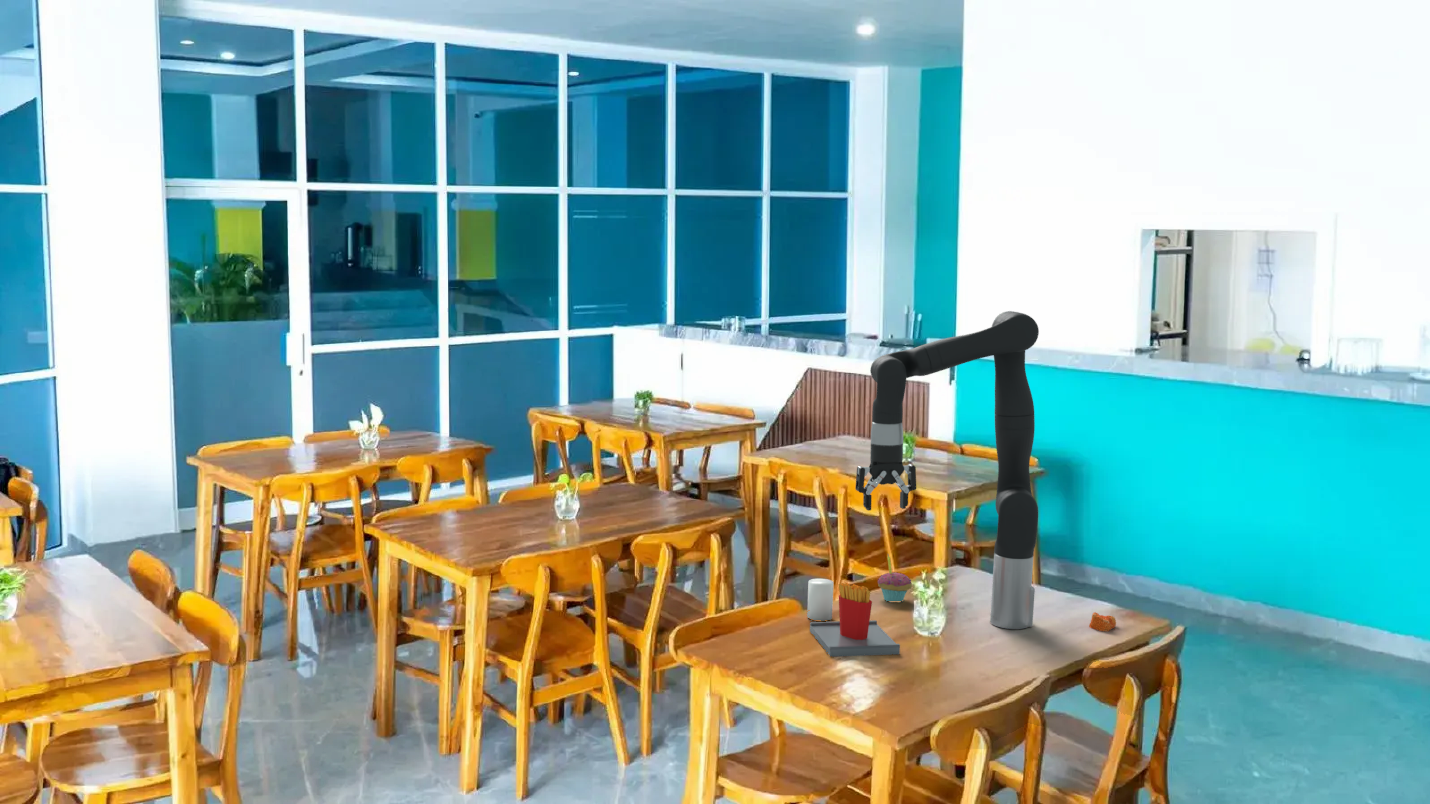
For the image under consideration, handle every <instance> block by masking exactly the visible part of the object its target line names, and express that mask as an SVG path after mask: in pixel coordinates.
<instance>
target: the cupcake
mask: <svg viewBox="0 0 1430 804" xmlns="http://www.w3.org/2000/svg"><path fill="white" fill-rule="evenodd" d="M886 558H887V566H888V572H887V573H886V572H885V573H883V574H881V576H879V578H877V584H878V587H879V588H880V589H881V593H882V596H883V600H884V601H885V600H886V601H885V602H887V601H902V600H903V601H904V599H905V596H906V594H907V592H908V590H911V589H912V584H913V583H912V579H910V578H909V577H908V576H907V575H906V574H904V573H901V572H894V571H893V570H892V563H891V556H890V555H889V554H887V557H886ZM903 601H902V602H903Z"/></svg>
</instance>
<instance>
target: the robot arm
mask: <svg viewBox="0 0 1430 804" xmlns="http://www.w3.org/2000/svg"><path fill="white" fill-rule="evenodd" d="M1039 332H1040V331H1039V326H1038V324H1037V321H1036V320H1035V319H1034V318H1033V317H1032V316H1030V315H1029V314H1026V313H1022V312H1019V311H1012V310H1009V311H1003V312H1002V313H999V314H998V315H997V316H996V317H995V319H994V320H993V322H992V325H991V326H990V327H987V328H986V329H985V328H984V329H982V330H980V331H976V332H972V333H968V334H962V335H956V336H952V337H947V338H941V339H938V340H934V341H931V342H929V343H928V342H927V343H925V344H922V345H919V346H917V347H914V348H911V349H905V350H899V351H895V352H890V353H886V354H884V355H880V356H879V357H877V358H876V359H874V361H873V362H872V363H871V365H870V375H871V377H872V379H873V380H874V382H876V392H875V393H876V396H875V398H874V400H873V402H872V415H871V416H872V419H871V429H870V464H869V466H861V465H858V466H857V467H856V478H855V491H856V492H858V493H862V494H863V495H862V496H863V499H862V500H863V503H862V504H863V507H864V508H865V510H866V511H872V500H873V499H872V492H873V491H874V490H875V489H876V488H877V487H878V485H881V486H882V485H883V486H884V485H887V484H888V485H894V484H896V485H897V487H898V488H899V489H900V490H901V491H899V507H900V509H902V510H903V509H904V510H905V509H906V507H908V505H909V493H910V492H912V491H916V490H917V470H916V468H917V467H916V466H915V465H914V464H911V463H908V464H906V465H904V464H903V460H904V457H903V456H904V454H903V453H904V427H903V419H904V418H903V416H904V415H903V413H904V412H903V411H904V410H903V408H904V407H903V403H904V397H905V391H906V386H907V379H908V378H912V377H925V376H929V375H931V374H936V373H939V372H941V371H944V370H948V369H950V368H954V367H957V366H960V365H963V364H965V363H969V362H972V361H976V360H979V359H984V358H986V357H987V358H988V357H992V356H993V360H994V361H993V363H994V431H995V432H994V434H995V448H996V456H997V465H998V466H997V467H998V468H997V469H998V471H997V473H998V474H997V486H996V487H997V488H996V496H995V511H996V513H997V516H998V517H997V529H996V531H997V532H996V539H995V543H994V551H993V552H994V553H993V569H992V583H991V585H992V586H991V601H990V602H991V604H990V615H989V616H990V618H989V619H990V620H989V622H990V624H991V625H993V626H995V627H998V628H1000V629H1001V628H1003V629H1006V630H1007V629H1008V630H1009V629H1010V630H1019V629H1022V630H1023V629H1026V628H1030V627H1031V628H1032V627H1033V623H1034V607H1035V606H1034V605H1035V595H1036V594H1035V593H1036V591H1035V590H1036V589H1035V587H1034V586H1032V585H1033V584H1032V583H1033V572H1034V571H1033V569H1034V568H1033V567H1034V553H1035V547H1036V544H1037V537H1038V535H1037V534H1038V523H1039V506H1038V503H1037V500H1035V498H1034V496H1033V492H1032V487H1031V479H1030V478H1031V477H1030V463H1031V455H1032V451H1033V447H1034V446H1033V445H1034V440H1035V427H1036V425H1035V422H1036V421H1035V403H1034V400H1033V399H1034V398H1033V395H1032V391H1031V388H1030V385H1029V381H1028V378H1027V371H1026V351H1027V350H1029V349H1030V348H1032V347H1033V346H1034V345H1035V344H1036V342H1037V341H1038V338H1039V334H1040V333H1039ZM904 472H905V474H907V484H905V482H904V481H903V479H902V477H901V476H902V475H903V473H904ZM868 473H869V474H870V475H871V476H870V478H869V479H868V481H867V483H866V485H865V477H866V476H868Z"/></svg>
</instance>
